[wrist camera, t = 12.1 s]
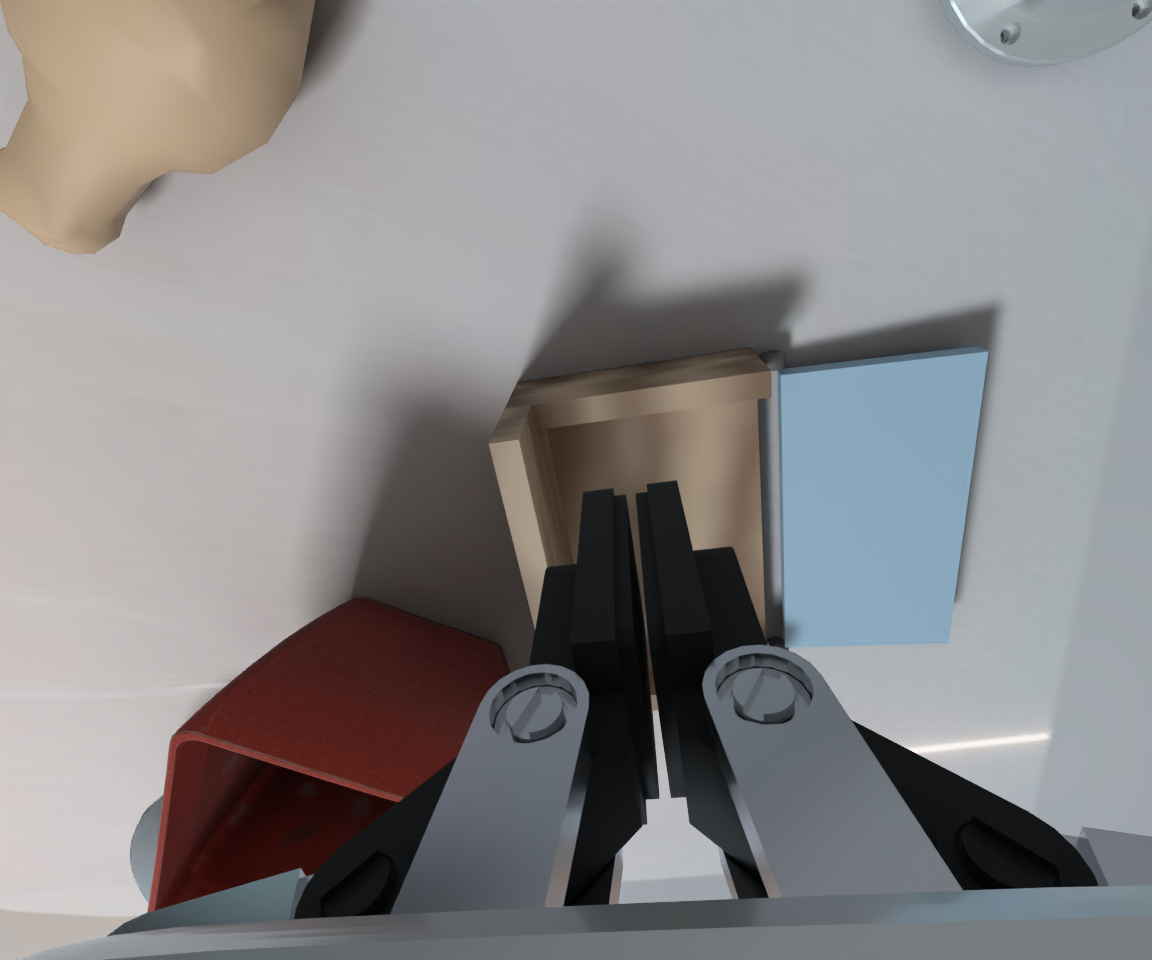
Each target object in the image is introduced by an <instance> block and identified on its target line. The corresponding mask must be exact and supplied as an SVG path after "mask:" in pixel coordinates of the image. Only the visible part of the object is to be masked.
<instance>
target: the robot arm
mask: <svg viewBox="0 0 1152 960" xmlns="http://www.w3.org/2000/svg"><path fill="white" fill-rule="evenodd" d="M939 2H940V4H941V6H942V8H943V11H944V13H945V15H946V17H947V19H948V21H949V22H950V24H951V25H952V26H953V27H954V29H955V30H956V31H957V32H958V34H959V35H960V36H961V38H962V39H963V40H964V41H965V42H967V43H968V44H969V45H971V46H972V47H973V48H975V49H976V50H977V51H979V52H980V53H981V54H982V55H985V56H987V57H990V58H992V59H994V60H997V61H999V62H1002V63H1004V64H1010V65H1017V66H1025V67H1038V66H1049V65H1057V64H1061V63H1065V62H1069V61H1073V60H1077V59H1081V58H1084V57H1086V56H1089V55H1092V54H1094V53H1097V52H1099V51H1102V50H1104V49H1107V48H1109V47H1112V46H1113V45H1115V44H1117V43H1118V42H1120V41H1122V40H1124V39H1125V38H1127V37H1129V36H1130V35H1132V34H1134V33H1135V32H1137V31H1139V30H1140V29H1142V28H1143V27H1144V26H1145V25H1147V24H1148V23H1149V22H1150V21H1152V0H939ZM1001 32H1002V33H1003V34H1004V39H1003V41H1002V42H1001V38H1000V35H1001ZM635 494H636V506H637V517H638V529H639V541H640V552H641V564H642V575H643V587H644V598H645V610H646V622H647V631H648V640H649V648H650V656H651V663H652V670H653V676H654V683H655V690H656V697H657V704H658V711H659V718H660V725H661V731H662V738H663V745H664V752H665V759H666V766H667V773H668V780H669V786H670V793H671V798H677V797H686V799H687V807H688V814H689V822H690V824H691V825H693V826H694V827H695V828H696V829H698V830H699V831H700V832H701V833H703V834H704V835H705V836H706V837H708V838H709V839H710V840H711V841H713V842H714V843H715V844H716V845H718V849H719V855H720V861H721V865H722V868H723V871H724V874H725V877H726V881H727V883H728V887H729V890H730V893H731V896H732V899H730V900H706V901H705V900H704V901H680V902H656V903H634V904H618V903H619V895H620V887H621V879H622V871H623V852H622V847H623V846H624V845H625V844H626V843H627V842H628V841H629V840H630V839H631V837H632V836H633V835H634V834H635V833H636V832H637V831H638V830H639V829H640V828H641V827H642V825H644V824H647V814H646V799H659V786H658V774H657V762H656V750H655V738H654V725H653V713H652V701H651V689H650V677H649V665H648V653H647V641H646V630H645V621H644V613H643V606H642V599H641V593H640V586H639V579H638V572H637V565H636V558H635V551H634V545H633V538H632V531H631V524H630V517H629V510H628V504H627V497H626V495H617V496H615V494H614V489H613V488H610V489H602V490H594V491H586V492H583V497H582V509H581V520H580V532H579V544H578V556H577V563H576V564H567V565H558V566H549V567H547V568H546V570H545V574H544V580H543V586H542V592H541V598H540V604H539V610H538V616H537V622H536V628H535V634H534V640H533V646H532V652H531V658H530V664H529V666H528V667H525V668H522V669H519V670H516V671H514V672H512V673H510V674H508V675H507V676H505V677H503V678H502V679H500V680H499V681H498V682H497V683H496V684H495V685H494V686H493V687H491V688H490V689H489V690H488V692H487V693H486V695H485V697H484V698H483V700H482V701H481V703H480V705H479V708H478V710H477V712H476V715H475V717H474V719H473V722H472V724H471V726H470V729H469V731H468V733H467V736H466V738H465V740H464V743H463V745H462V747H461V750H460V752H459V754H458V756H457V757H455V758H454V759H453V760H452V761H450V762H449V763H448V764H447V765H445V766H444V767H443V768H441V769H440V770H439V771H438V772H436V773H435V774H434V775H432V776H431V777H430V778H429V779H427V780H426V781H425V782H424V783H422V784H421V785H420V786H418V787H417V788H416V789H415V790H413V791H412V792H411V793H409V794H408V795H407V796H406V797H404V798H403V799H402V800H401V801H399V802H398V803H397V804H395V805H394V806H393V807H392V808H390V809H389V810H388V811H386V812H385V813H384V814H383V815H381V816H380V817H379V818H378V819H376V820H375V821H374V822H372V823H371V824H370V825H369V826H367V827H366V828H365V829H363V830H362V831H361V832H360V833H358V834H357V835H356V836H355V837H353V838H352V839H351V840H349V841H348V842H347V843H346V844H344V845H343V846H342V847H340V848H339V849H338V850H337V851H336V852H335V853H334V854H333V855H331V856H330V857H329V858H328V859H327V860H326V861H325V862H324V863H323V864H322V865H321V866H320V867H319V868H318V870H317V871H316V873H315V874H313V875H309V876H305V874H304V872H303V871H302V869H301V868H299V869H296V870H292V871H289V872H285V873H282V874H278V875H275V876H272V877H268V878H265V879H261V880H258V881H254V882H251V883H247V884H244V885H241V886H237V887H234V888H230V889H227V890H223V891H220V892H217V893H213V894H210V895H206V896H203V897H199V898H196V899H193V900H189V901H186V902H182V903H179V904H175V905H172V906H169V907H165V908H162V909H158V910H155V911H151V912H148V913H146V914H143V915H141V916H139V917H137V918H135V919H132V920H130V921H128V922H126V923H124V924H123V925H121V926H120V927H119V928H117V929H116V930H114V931H113V932H112V933H110V934H109V935H108V936H106V937H102V938H98V939H93V940H89V941H84V942H80V943H75V944H70V945H66V946H61V947H57V948H53V949H50V950H46V951H43V952H40V953H37V954H34V955H30V956H27V957H24V958H21V959H18V960H1152V837H1150V836H1143V835H1136V834H1129V833H1122V832H1115V831H1108V830H1101V829H1094V828H1087V827H1082V829H1081V832H1080V835H1079V837H1075V836H1068V835H1061V834H1060V833H1059V832H1058V831H1056V830H1055V829H1054V828H1053V827H1051V826H1050V825H1048V824H1047V823H1045V822H1044V821H1042V820H1040V819H1039V818H1037V817H1036V816H1034V815H1033V814H1031V813H1029V812H1028V811H1026V810H1024V809H1022V808H1020V807H1018V806H1016V805H1014V804H1012V803H1011V802H1009V801H1007V800H1005V799H1003V798H1001V797H999V796H997V795H995V794H993V793H991V792H989V791H987V790H985V789H984V788H982V787H980V786H978V785H976V784H974V783H972V782H970V781H968V780H966V779H964V778H962V777H960V776H958V775H956V774H955V773H953V772H951V771H949V770H947V769H945V768H943V767H941V766H939V765H937V764H935V763H933V762H931V761H929V760H927V759H926V758H924V757H922V756H920V755H918V754H916V753H914V752H912V751H910V750H908V749H906V748H904V747H902V746H900V745H899V744H897V743H895V742H893V741H891V740H889V739H887V738H885V737H883V736H881V735H879V734H877V733H875V732H873V731H871V730H870V729H868V728H866V727H864V726H862V725H860V724H858V723H856V722H854V721H852V720H851V719H850V718H849V716H848V715H847V713H846V712H845V710H844V709H843V707H842V706H841V704H840V703H839V701H838V699H837V698H836V696H835V695H834V693H833V692H832V690H831V689H830V687H829V686H828V684H827V683H826V681H825V680H824V678H823V677H822V675H821V674H820V673H819V672H818V671H817V670H816V668H815V667H814V666H813V665H812V664H811V663H810V662H809V661H807V660H805V659H804V658H802V657H801V656H799V655H797V654H796V653H794V652H791V651H788V650H785V649H782V648H779V647H774V646H767V643H766V640H765V637H764V635H763V632H762V629H761V626H760V623H759V620H758V617H757V614H756V611H755V608H754V606H753V603H752V600H751V597H750V594H749V591H748V588H747V585H746V582H745V579H744V577H743V574H742V571H741V568H740V565H739V562H738V559H737V556H736V553H735V551H734V549H733V547H732V546H730V547H721V548H712V549H703V550H694V551H693V548H692V543H691V539H690V535H689V530H688V526H687V522H686V517H685V513H684V509H683V504H682V500H681V496H680V491H679V487H678V483H677V480H674V481H666V482H658V483H650V484H647V492H642V493H635Z"/></svg>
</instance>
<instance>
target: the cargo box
mask: <svg viewBox="0 0 1152 960" xmlns="http://www.w3.org/2000/svg"><path fill="white" fill-rule="evenodd" d="M784 367H785V353H784V352H782V351H769V352H764V353H762V354H760V358H759V357H758V356H757V355H756V353H755V352H754V351H753V350H752V349H751V348H745V349H738V350H732V351H725V352H718V353H712V354H705V355H698V356H691V357H685V358H678V359H671V360H665V361H658V362H651V363H645V364H638V365H631V366H624V367H618V368H611V369H604V370H598V371H591V372H584V373H577V374H571V375H564V376H557V377H551V378H544V379H537V380H531V381H524V382H517V384H516V386H515V388H514V390H513V393H512V395H511V397H510V399H509V401H508V403H507V405H506V408H505V410H504V412H503V414H502V416H501V418H500V420H499V422H498V425H497V427H496V429H495V431H494V433H493V435H492V437H491V440H490V442H489V448H490V452H491V456H492V460H493V464H494V468H495V472H496V476H497V480H498V484H499V488H500V492H501V496H502V500H503V504H504V508H505V512H506V516H507V520H508V524H509V528H510V532H511V536H512V540H513V544H514V548H515V552H516V556H517V560H518V564H519V568H520V572H521V576H522V580H523V584H524V588H525V592H526V596H527V600H528V604H529V608H530V612H531V616H532V620H533V624H534V628H536V622H537V616H538V610H539V604H540V598H541V592H542V586H543V580H544V574H545V570H546V568H547V567H549V566H558V565H567V564H576V563H577V556H578V544H579V532H580V520H581V509H582V497H583V492H586V491H594V490H602V489H610V488H613V489H614V494H615V496H617V495H626V497H627V504H628V510H629V517H630V524H631V531H632V538H633V545H634V551H635V558H636V565H637V572H638V579H639V586H640V593H641V599H642V606H643V613H644V621H645V630H646V641H647V653H648V665H649V677H650V689H651V701H652V710H658V704H657V697H656V690H655V683H654V676H653V670H652V663H651V656H650V648H649V640H648V631H647V622H646V610H645V598H644V587H643V575H642V564H641V552H640V541H639V529H638V517H637V506H636V494H635V493H642V492H647V484H650V483H658V482H666V481H674V480H677V483H678V487H679V491H680V496H681V500H682V504H683V509H684V513H685V517H686V522H687V526H688V530H689V535H690V539H691V543H692V548H693V551H694V550H703V549H712V548H721V547H730V546H732V547H733V549H734V551H735V553H736V556H737V559H738V562H739V565H740V568H741V571H742V574H743V577H744V579H745V582H746V585H747V588H748V591H749V594H750V597H751V600H752V603H753V606H754V608H755V611H756V614H757V617H758V620H759V623H760V626H761V629H762V632H763V635H764V637H765V640H766V629H765V600H764V571H763V542H762V514H761V485H760V456H759V427H758V399H764V398H771V371H776V370H780V369H783V368H784ZM769 646H774V647H779V648H782V649H785V650H788V651H789V649H788V647H785V644H784V640H783V638H780V637H775V638H772V639H771V640H770V641H769Z"/></svg>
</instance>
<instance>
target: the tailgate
mask: <svg viewBox="0 0 1152 960" xmlns="http://www.w3.org/2000/svg"><path fill="white" fill-rule="evenodd" d="M987 359H988V351H987V350H985V349H983V348H981V347H980V346H974V347H966V348H957V349H948V350H940V351H931V352H923V353H914V354H905V355H897V356H888V357H880V358H871V359H863V360H854V361H845V362H837V363H828V364H820V365H811V366H802V367H794V368H785V369H780V370H778V418H779V471H780V524H781V578H782V631H783V640H784V644H785V647H822V646H859V645H897V644H934V643H948V642H949V634H950V627H951V620H952V613H953V605H954V598H955V591H956V584H957V576H958V569H959V562H960V555H961V547H962V540H963V533H964V526H965V518H966V511H967V504H968V497H969V489H970V482H971V475H972V468H973V460H974V453H975V446H976V439H977V431H978V424H979V417H980V409H981V402H982V395H983V388H984V380H985V373H986V366H987Z"/></svg>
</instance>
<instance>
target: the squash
mask: <svg viewBox="0 0 1152 960" xmlns="http://www.w3.org/2000/svg"><path fill="white" fill-rule="evenodd" d="M0 2H1V6H2V10H3V14H4V18H5V22H6V26H7V30H8V32H9V34H10V35H11V37H12V39H13V41H14V42H15V44H16V46H17V47H18V49H19V51H20V52H21V54H22V60H23V67H24V74H25V82H26V89H27V96H28V100H27V103H26V105H25V107H24V109H23V111H22V113H21V116H20V118H19V120H18V122H17V124H16V127H15V129H14V131H13V133H12V135H11V138H10V140H9V142H8V144H7V146H6V147H4V148H2V149H1V150H0V211H2V212H3V213H4V214H6V215H7V216H8V217H10V218H11V219H12V220H14V221H15V222H16V223H18V224H19V225H20V226H22V227H23V228H24V229H25V230H27V231H28V232H29V233H31V234H32V235H33V236H34V237H36V238H37V239H38V240H40V241H41V242H42V243H43V244H45V245H47V246H50V247H53V248H56V249H59V250H62V251H65V252H69V253H72V254H95V253H96V252H98V251H99V250H101V249H102V248H103V247H105V246H106V245H108V244H109V243H111V242H112V241H114V240H115V239H117V238H118V237H119V236H120V233H121V230H122V227H123V224H124V221H125V218H126V215H127V214H128V212H129V211H130V210H131V208H132V207H133V206H134V205H135V203H136V202H137V201H138V199H139V198H140V197H141V196H142V194H143V193H144V192H145V190H146V189H147V188H148V186H149V185H150V184H151V183H152V181H153V180H154V179H156V178H158V177H160V176H162V175H164V174H166V173H168V172H170V171H173V172H189V173H204V174H213V173H215V172H217V171H218V170H220V169H222V168H224V167H225V166H227V165H229V164H231V163H232V162H234V161H236V160H238V159H239V158H241V157H243V156H245V155H246V154H248V153H250V152H252V151H253V150H255V149H257V148H259V147H260V146H262V145H264V144H266V143H267V142H268V141H269V139H270V138H271V136H272V134H273V133H274V131H275V130H276V128H277V126H278V125H279V123H280V122H281V120H282V118H283V117H284V115H285V114H286V112H287V110H288V109H289V107H290V106H291V104H292V102H293V101H294V99H295V98H296V96H297V94H298V93H299V91H300V86H301V80H302V74H303V68H304V63H305V57H306V51H307V45H308V40H309V34H310V28H311V22H312V17H313V11H314V5H315V0H0Z"/></svg>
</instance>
